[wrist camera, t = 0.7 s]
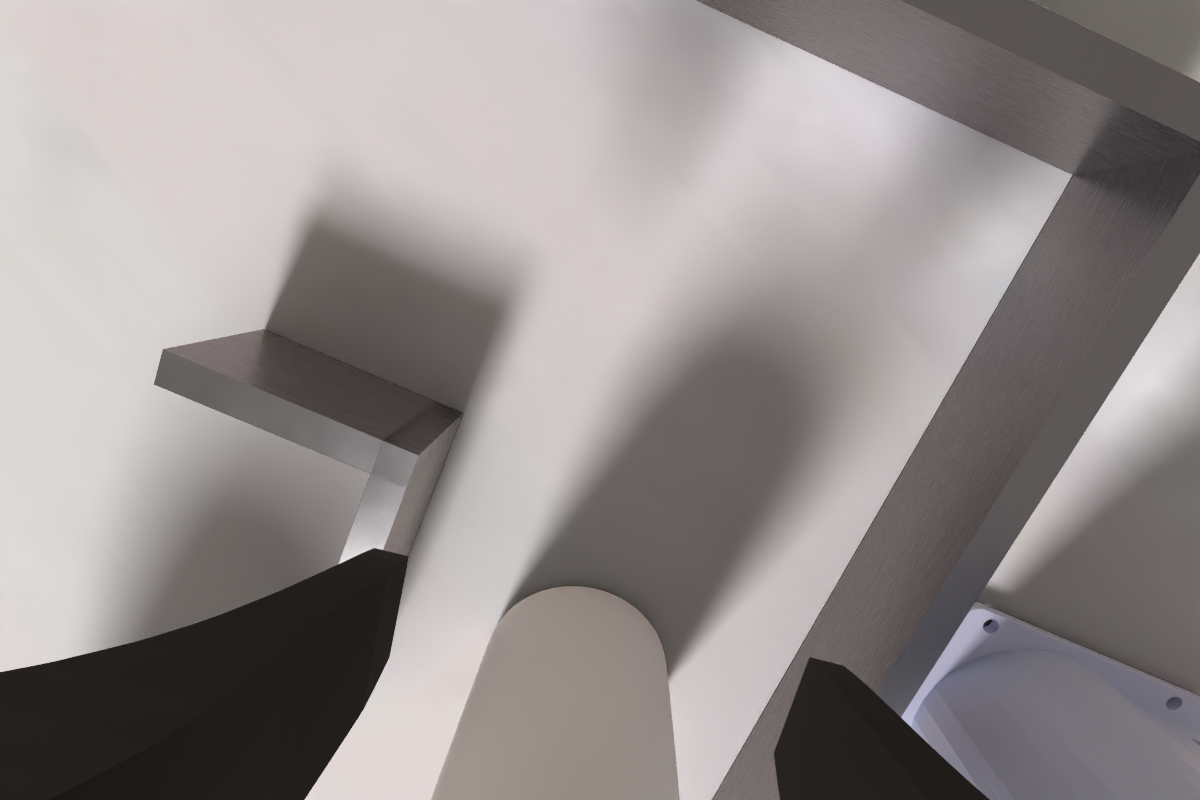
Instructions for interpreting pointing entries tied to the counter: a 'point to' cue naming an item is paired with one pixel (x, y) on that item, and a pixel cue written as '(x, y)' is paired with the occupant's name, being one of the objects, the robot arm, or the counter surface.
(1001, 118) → the rail channel
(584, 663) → the can
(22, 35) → the counter surface
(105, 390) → the counter surface
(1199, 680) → the counter surface
